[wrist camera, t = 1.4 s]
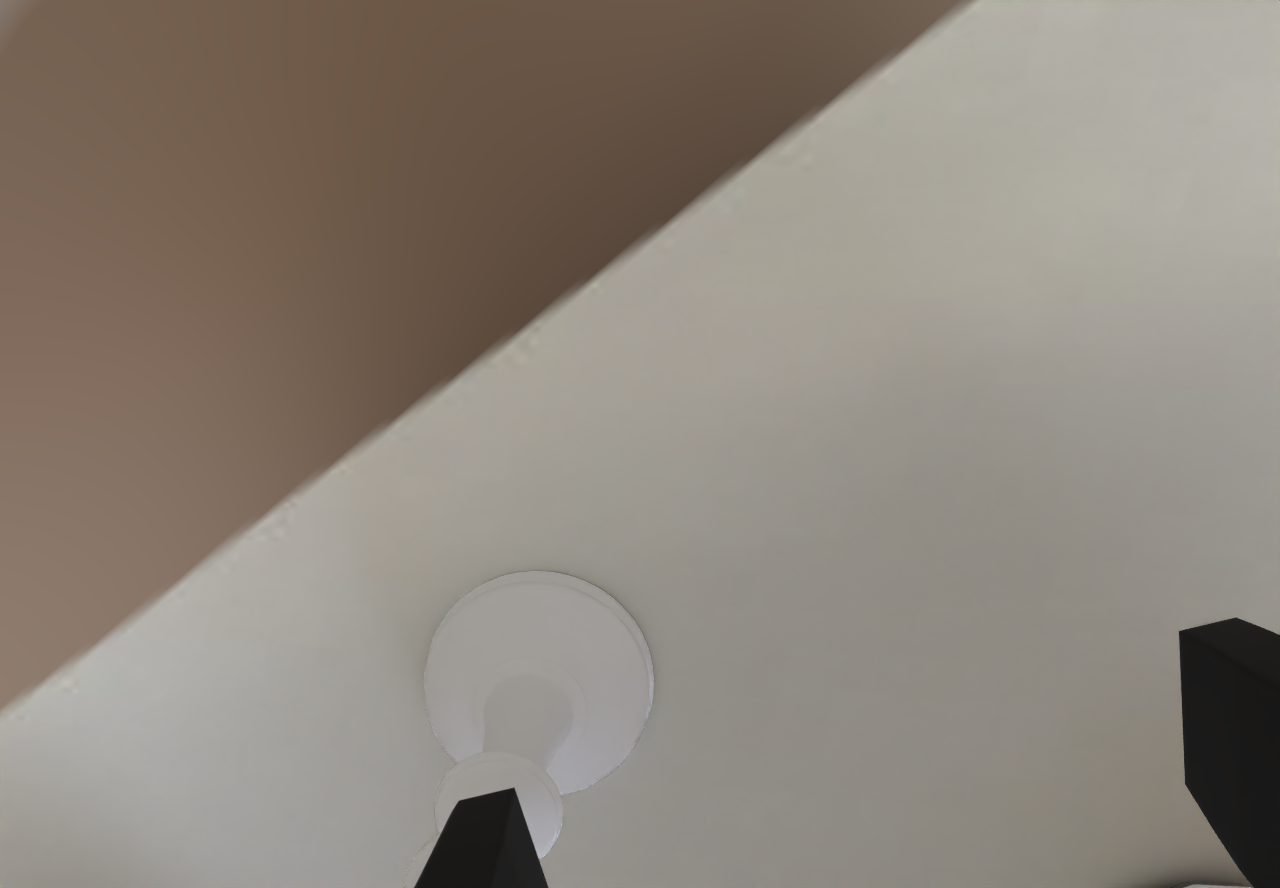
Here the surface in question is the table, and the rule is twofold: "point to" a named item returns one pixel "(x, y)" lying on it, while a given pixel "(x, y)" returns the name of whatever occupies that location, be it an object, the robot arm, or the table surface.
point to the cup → (1209, 885)
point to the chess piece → (533, 696)
